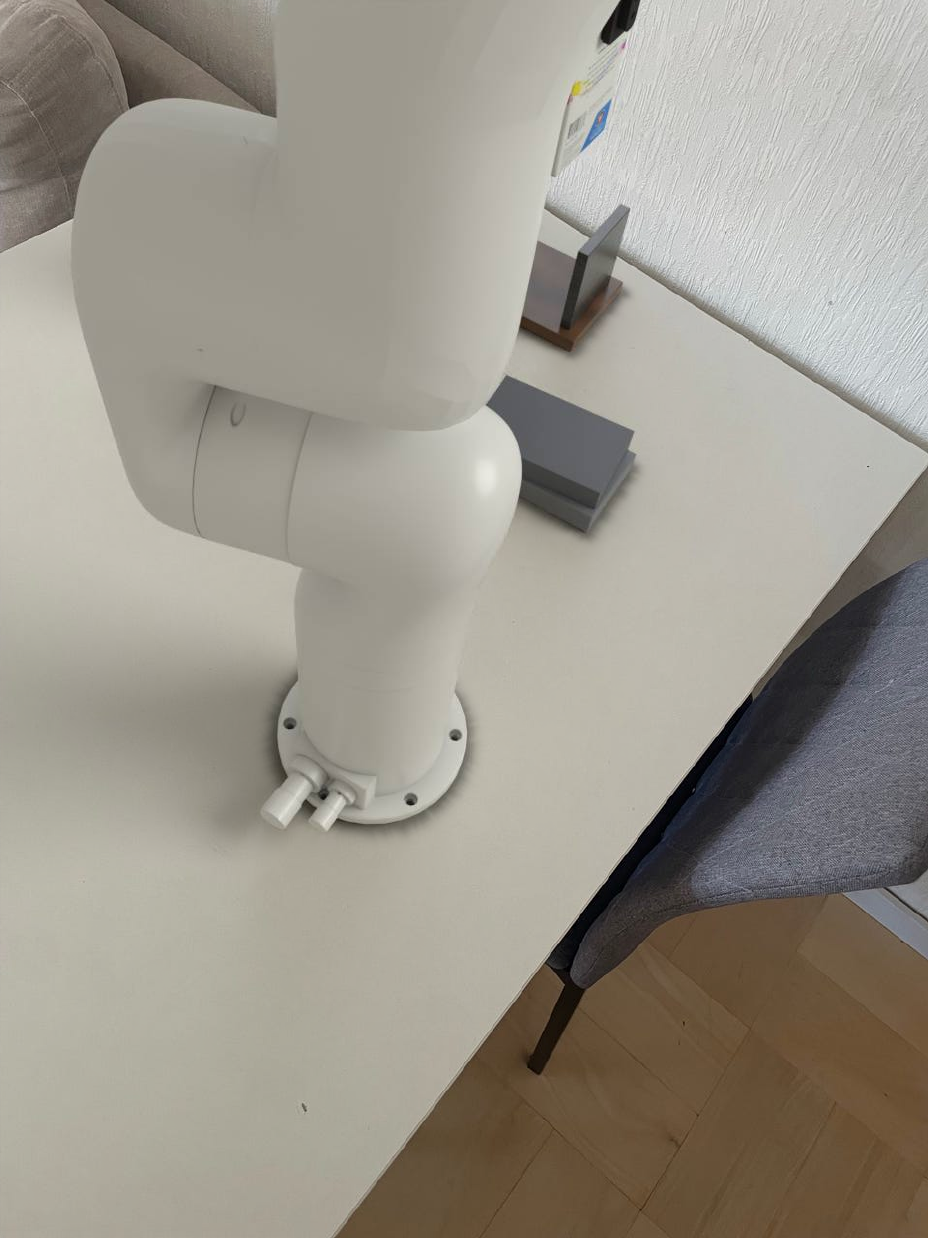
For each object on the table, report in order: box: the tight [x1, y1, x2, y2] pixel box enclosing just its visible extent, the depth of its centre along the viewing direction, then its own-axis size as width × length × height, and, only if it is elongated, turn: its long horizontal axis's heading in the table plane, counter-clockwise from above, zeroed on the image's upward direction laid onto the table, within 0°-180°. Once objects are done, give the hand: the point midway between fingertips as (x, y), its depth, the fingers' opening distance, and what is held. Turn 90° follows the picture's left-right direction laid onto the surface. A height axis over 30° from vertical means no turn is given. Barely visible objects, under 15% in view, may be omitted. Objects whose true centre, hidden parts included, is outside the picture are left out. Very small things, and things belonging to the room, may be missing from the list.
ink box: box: [551, 29, 630, 178], centre depth 75 cm, size 8×5×15 cm, turn 148°
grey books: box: [485, 374, 637, 533], centre depth 82 cm, size 8×12×4 cm
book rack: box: [519, 203, 631, 352], centre depth 91 cm, size 10×23×11 cm, turn 59°
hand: (579, 18), depth 73 cm, fingers closed on ink box, 5 cm apart
